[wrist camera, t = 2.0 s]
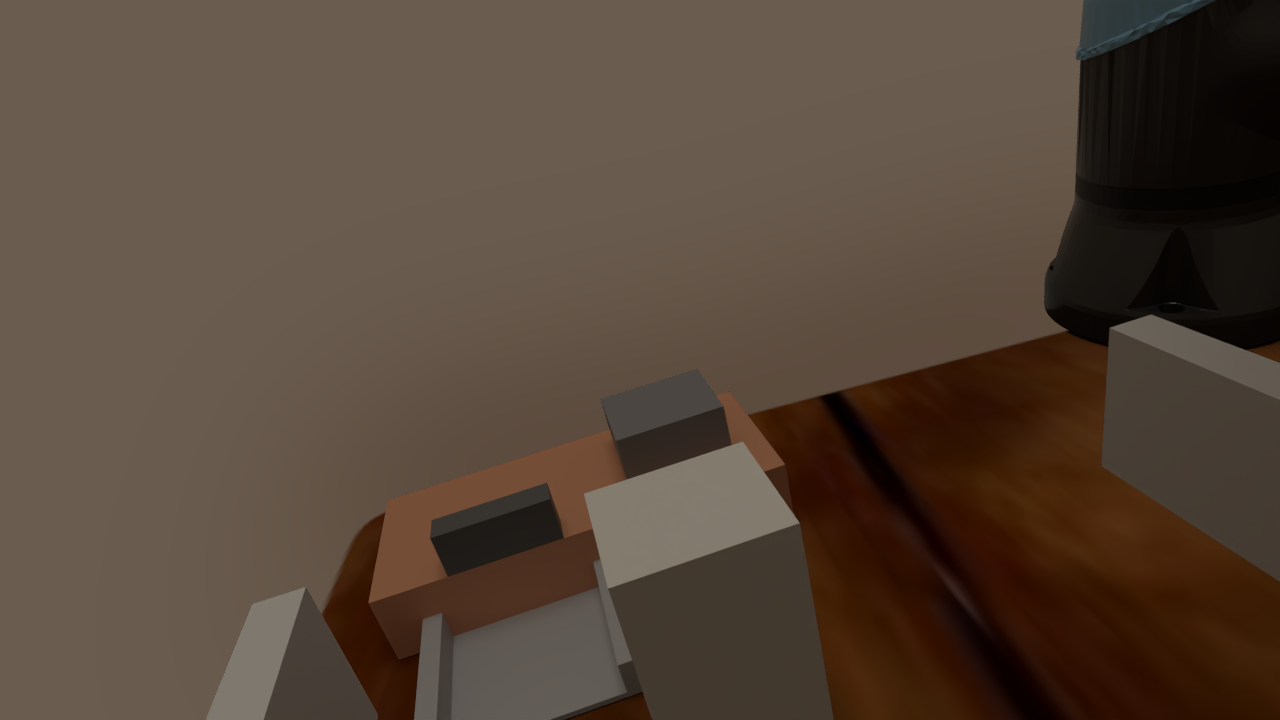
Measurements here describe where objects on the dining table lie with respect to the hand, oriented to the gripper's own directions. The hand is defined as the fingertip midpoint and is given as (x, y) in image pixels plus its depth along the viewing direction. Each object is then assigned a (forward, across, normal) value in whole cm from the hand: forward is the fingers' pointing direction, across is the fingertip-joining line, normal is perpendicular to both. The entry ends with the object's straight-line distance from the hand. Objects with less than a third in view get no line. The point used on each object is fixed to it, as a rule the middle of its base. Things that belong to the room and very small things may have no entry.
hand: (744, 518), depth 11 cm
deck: (+22, -4, -19) cm, 29 cm away
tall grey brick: (+10, 0, -19) cm, 22 cm away
